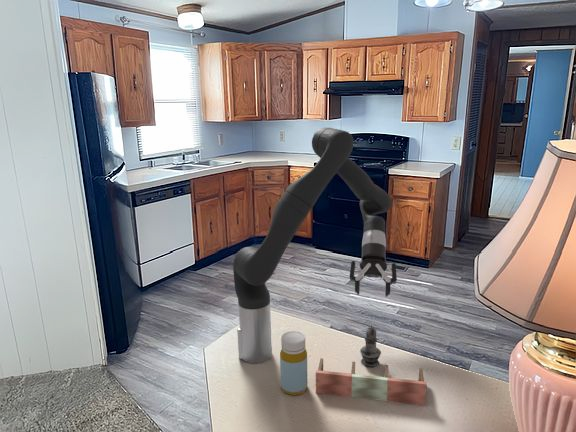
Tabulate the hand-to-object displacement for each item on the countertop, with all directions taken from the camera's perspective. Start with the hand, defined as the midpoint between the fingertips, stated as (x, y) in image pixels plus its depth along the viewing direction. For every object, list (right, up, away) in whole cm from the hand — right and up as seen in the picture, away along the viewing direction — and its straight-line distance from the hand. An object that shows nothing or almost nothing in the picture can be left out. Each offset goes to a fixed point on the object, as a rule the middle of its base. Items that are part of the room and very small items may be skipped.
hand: (372, 294), depth 130 cm
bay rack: (-4, -21, -17) cm, 27 cm away
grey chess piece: (-2, -19, -6) cm, 20 cm away
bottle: (-24, -22, -17) cm, 36 cm away
